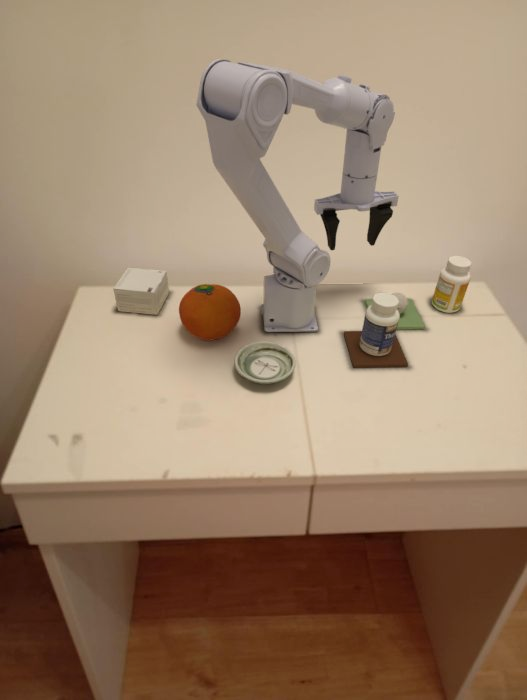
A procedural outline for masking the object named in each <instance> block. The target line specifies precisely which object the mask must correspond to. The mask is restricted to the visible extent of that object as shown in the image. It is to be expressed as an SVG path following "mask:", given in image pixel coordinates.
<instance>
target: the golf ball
mask: <svg viewBox="0 0 527 700" xmlns="http://www.w3.org/2000/svg"><path fill="white" fill-rule="evenodd" d="M391 294H392V295H394V296H396V297H397V298H398V300H399V303H398V308H397V310H398V312H399V314H401V313H403V312H404V311H405V310H406V309H407V307H408V300H407V299H408V298H407V297H406V296H405V294H403V293H401V292H393V293H391Z"/></svg>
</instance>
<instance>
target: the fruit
mask: <svg viewBox="0 0 527 700" xmlns="http://www.w3.org/2000/svg"><path fill="white" fill-rule="evenodd" d="M241 311H242V310H241V304H240V301H239V298H238V297H237V296H236V295H235V293H234V292H233V291H232V290H230V289H229V288H228V287H227V286H224V285H220V284H216V283H214V284H209V283H203V284H198V285H196V286H194V287H191V288H190V290H189V291H187V292H186V293H185V294H184V295H183V296H182V298H181V300H180V302H179V306H178V313H179V318H180V322H181V324H182V326H183V328H184V329H185V330H186V331H187V332H188V333H189V334H190V335H192V336H194V337H196V338H197V339H200V340H203V341H216V340H219V339H221V338H224V337H226V336H228V335H229V334H231V333H232V332H233V331H234V330H235V328H236V327H237V325H238V324H239V322H240V318H241V313H242V312H241Z"/></svg>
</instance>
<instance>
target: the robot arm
mask: <svg viewBox="0 0 527 700" xmlns="http://www.w3.org/2000/svg"><path fill="white" fill-rule="evenodd" d="M352 80H353V79H352V77H350V76H348V75H344V74H338V76H337V77H331V78H328V79H325V81H323V82H322V83H321V82H319V81H316V80H314V79H312V78H309V77H306V76H304V75H302V74H299V73H297V72H295V71H292V70H289V69H285V68H280V67H277V66H272V65H271V66H270V65H267V64H266V65H265V64H258V63H252V62H245V61H237V63H236V62H233V61H231V60H229V59H226V58H218V59H215V60H213V61H211V62H210V63H209V64H208V65H207V66H206V68H205V69H204V71H203V73H202V75H201V78H200V82H199V88H198V93H197V99H196V107H197V109H198V111H199V112H200V114H201V116H202V118H203V120H204V122H205V127H206V131H207V137H208V143H209V148H210V155H211V158H212V163H213V165H214V167H215V169H216V171H217V172H218V173H219V175H220V176H221V178H222V179H223V181H224V182H225V184H226V186H228V188H229V189H230V190H231V193H232V194H233V195H234V196H235V198H236V200H237V201H238V202H239V203H240V205H241V207H242V208H243V209H244V210H245V212H246V213H247V215H248V216H249V217H250V219H251V220H252V222H253V223H254V225H255V226H256V228H257V229H258V230H259V232H260V233H261V234H262V236H263V237H264V241H263V242H262V246H263V248H264V249H265V252H266V259H267V262H268V264H269V265H270V266H272V267H273V268H272V269H273V270H272V274H268V275H264V276H263V291H262V292H263V293H262V296H263V297H262V304H261V315H263V326H264V327H263V329H264V331H265V332H267V333H289V332H290V333H291V332H292V333H293V332H294V333H296V332H317V331H318V330H319V326H318V322H317V317H316V313H315V309H316V299H317V290H318V285H319V284H320V283H321V282H323V281H324V280H325V278H326V277H327V275H328V273H329V271H330V268H331V255H330V254H329V252H328V251H326V250H325V249H321V248H320V246H319V245H318V243H317V242H316V241H314V240H313V239H312V238H310V237H309V236H308V235H307V234H306V233H305V232H304V231H302V229H301V227H300V225H299V224H298V222H297V221H296V219H295V217H294V215H293V213H292V212H291V210H290V208H289V206H288V205H287V203H286V201H285V200H284V198H283V196H282V195H281V193H280V191H279V190H278V187H277V186H276V185H275V183H274V181H273V179H272V177H271V176H270V174H269V172H268V170H267V169H266V167H265V166H264V164H263V162H262V160H261V159H262V158H264V157H265V156H266V154H267V152H268V150H269V148H270V146H271V144H272V141H273V140H274V137H275V136H276V133H277V130H278V129H279V126H280V124H281V122H282V120H283V117H284V115H289V114H290V113H291V109H292V106H293V105H295V106H300V107H303V108H307V109H312V110H314V114H315V116H316V118H317V119H318V120H319V121H320V122H321V123H323V124H327V125H330V126H335V127H338V128H342V129H344V130H346V132H345V134H346V135H345V143H344V144H345V145H344V155H343V166H342V173H341V174H342V175H341V182H340V183H341V185H340V193H336V194H335V193H334V194H332V195H329V196H325V197H321V198H316V199H314V205H313V208H314V209H313V210H314V212H315V213H316V215H320V218H321V220H322V223H323V226H324V230H325V234H326V241H327V247H328V249H329V250H330V251H335V249H336V245H337V244H336V243H337V233H338V228H339V225H340V222H341V220H340V219H339V217H338V213H337V212H338V211H348V210H349V211H350V210H357V211H358V212H369V217H368V218H369V221H368V227H367V235H366V241H367V243H368V244H369V245H370V246H371V247H373V246H375V244H376V242H377V239H378V238H379V235H380V234H381V232H382V230H383V228H384V227H385V225H387V223H388V221H389V220H390V219H392V217H393V213H394V210H393V207H397V206H398V201H399V194H397V192H395V191H394V190H393V191H392V190H391V191H382V190H381V191H380V190H379V191H377V190H376V186H377V181H378V180H377V179H378V172H379V166H380V159H381V152H382V147H383V146H384V145H385V143H386V141H387V137H388V132H389V130H390V128H391V126H392V125H393V122H394V119H395V115H396V112H395V110H394V109H395V108H394V104H393V101H392V100H391V97H390V96H389V95H387V94H384V93H380V92H375V91H372V90H371V88H370V86H369V85H367V84H364V83H360V84H359V85H357V84H354V83H352Z"/></svg>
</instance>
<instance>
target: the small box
mask: <svg viewBox="0 0 527 700" xmlns="http://www.w3.org/2000/svg"><path fill="white" fill-rule="evenodd" d="M112 290H113V293H114V298H115V303H116V308H117V311H118V312H123V313H133V314H142V315H143V314H145V315H155V316H157V315H158V314H159V313H160V311H161V310H162V307H163V305H164V303H165V301H166V300H167V297H168V296H169V294H170V287H169V280H168V272H167V270H162V269H149V268H137V267H127V268H126V270H125V271H124V272H123V274H122V275H121V276H120V278H119V280H118V281H117V283H116V284H115V286H114V287H113V289H112Z"/></svg>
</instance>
